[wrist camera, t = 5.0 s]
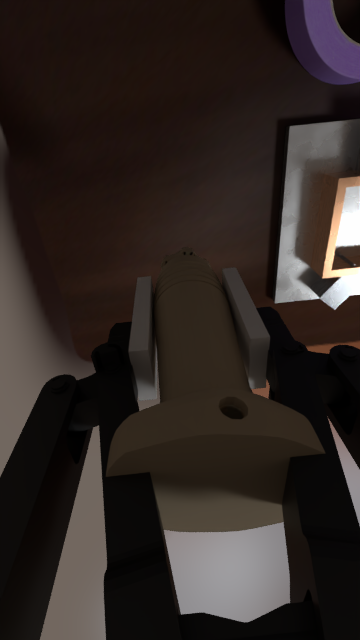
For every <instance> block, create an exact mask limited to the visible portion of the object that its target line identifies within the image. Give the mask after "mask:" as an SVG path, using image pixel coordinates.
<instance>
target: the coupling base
mask: <svg viewBox="0 0 360 640" xmlns="http://www.w3.org/2000/svg"><path fill="white" fill-rule="evenodd" d="M357 294H360V119H350V120H340V121H331V122H321V123H311V124H302V125H292V126H286V132H285V144H284V157H283V170H282V182H281V195H280V208H279V220H278V233H277V246H276V258H275V271H274V284H273V296H272V300H273V301H274V303H281V302H291V301H300V300H310V299H319V298H320V299H321V300H322V301H324V302H325V303H327V304H328V305H329V306H331V307H332V308H333V309H336V308H337V307H338V306H339V305H340V304H341V303H342V302H343V301H344V300H345V299H347V298H348V297H349V296H350V295H357Z"/></svg>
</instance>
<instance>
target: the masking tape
mask: <svg viewBox="0 0 360 640" xmlns="http://www.w3.org/2000/svg"><path fill="white" fill-rule="evenodd" d="M285 20H286V28H287V33H288V38H289V41H290V44H291V47H292V49H293V52H294V54H295V55H296V57H297V59H298V61H299V62H300V64H301V65H302V66H303V67H304V68H305V69H306V70H307V71H308V72H309V73H310V74H311V75H312V76H314V77H315V78H317V79H319V80H321V81H324V82H326V83H330V84H337V85H341V84H352V83H357V82H360V44H359V43H357V42H355V41H353V40H352V39H351V38H349V37H348V36H347V35H346V34H345V33H344V32H343V30H342V29H341V27H340V25H339V24H338V21H337V19H336V16H335V12H334V9H333V3H332V0H285Z"/></svg>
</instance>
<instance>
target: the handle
mask: <svg viewBox="0 0 360 640" xmlns="http://www.w3.org/2000/svg"><path fill="white" fill-rule="evenodd" d="M161 268H162V270H161V272H160V274H159V277H158V279H157V283H156V288H155V294H154V306H153V317H154V328H155V339H156V349H157V359H158V372H159V388H160V404H157V405H154V406H152V407H149V408H146V409H144V410H141V411H139V412H136V413H134V414H132V415H130V416H129V417H128V418H127V419H126V420H124V421H123V422H122V424H121V425H120V426H119V427H118V429H117V430H116V432H115V434H114V437H113V439H112V442H111V446H110V451H109V457H108V464H107V471H106V477H109V476H118V475H127V474H136V473H145V472H150V475H151V479H152V483H153V487H154V491H155V495H156V499H157V504H158V508H159V512H160V516H161V520H162V525H163V530H170V531H178V532H228V531H240V530H247V529H253V528H258V527H262V526H267V525H272V524H276V523H281V522H284V520H283V512H282V500H283V495H284V489H285V483H286V478H287V472H288V466H289V461H290V457H296V456H306V455H316V454H326V453H325V451H324V449H323V447H322V445H321V443H320V441H319V439H318V437H317V435H316V433H315V431H314V429H313V427H312V425H311V424H310V422H309V421H308V419H307V418H306V417H305V416H304V415H302V414H300V413H298V412H296V411H295V410H293V409H291V408H289V407H287V406H284V405H282V404H280V403H278V402H275V401H273V400H270V399H267V398H265V397H263V396H260V395H257V394H253V392H252V390H251V388H250V384H249V381H248V377H247V373H246V370H245V366H244V362H243V359H242V355H241V351H240V348H239V344H238V340H237V336H236V331H235V327H234V323H233V319H232V315H231V310H230V306H229V303H228V300H227V297H226V294H225V292H224V290H223V287H222V285H221V283H220V281H219V279H218V278H217V276H216V274H215V273H214V271H213V270H212V268H211V266H210V264H209V263H208V261H207V260H206V259H202V258H200V257H199V256H197V255H196V254H195V253H194V251H193V249H191V248H188V247H184V248H182V249H181V250H180V251H179V252H178V253H176V254H174V255H170V256H168V255H167V256H165V258H164V259H163V261H162V263H161Z"/></svg>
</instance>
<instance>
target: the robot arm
mask: <svg viewBox="0 0 360 640" xmlns="http://www.w3.org/2000/svg"><path fill="white" fill-rule="evenodd" d="M222 287H223V290H224V292H225V294H226V297H227V300H228V303H229V306H230V310H231V315H232V319H233V323H234V327H235V331H236V336H237V340H238V344H239V348H240V351H241V355H242V359H243V362H244V366H245V370H246V373H247V377H248V381H249V384H250V388H251V389H256V388H265V387H266V380H268V383H269V385H270V390H269V399H270V400H273V401H275V402H278V403H280V404H282V405H284V406H287V407H289V408H291V409H293V410H295V411H296V412H298V413H300V414H302V415H304V416H305V417H306V418H307V419H308V421H309V422H310V424H311V425H312V427H313V429H314V431H315V433H316V435H317V437H318V439H319V441H320V443H321V445H322V447H323V449H324V451H325V453H326V454H316V455H306V456H296V457H290V461H289V466H288V472H287V478H286V483H285V489H284V495H283V500H282V512H283V520H284V528H285V537H286V546H287V555H288V563H289V571H290V572H289V573H290V603H288V604H285V605H283V606H281V607H279V608H277V609H275V610H273V611H271V612H269V613H267V614H265V615H263V616H261V617H259V618H257V619H255V620H253V621H250V622H245V623H244V622H239V621H235V620H231V619H227V618H223V617H219V616H215V615H211V614H206V613H192V614H183V615H181V613H180V608H179V604H178V599H177V595H176V590H175V585H174V580H173V575H172V570H171V565H170V560H169V555H168V551H167V546H166V540H165V535H164V530H163V525H162V520H161V516H160V512H159V508H158V504H157V499H156V495H155V491H154V487H153V483H152V479H151V475H150V472H145V473H136V474H127V475H118V476H109V477H106V471H107V464H108V457H109V451H110V446H111V442H112V439H113V437H114V434H115V432H116V430H117V429H118V427H119V426H120V425H121V424H122V422H123V421H124V420H126V419H127V418H128V417H129V416H130V415H132V414H134V413H136V412H139V406H138V402H137V398H138V396H139V400H140V401H141V400H151V399H157V349H156V339H155V328H154V317H153V306H154V292H153V286H152V279H151V276H149V277H139V278H137V286H136V294H135V302H134V310H133V318H132V322H124V323H116V324H115V325H114V326H113V327H112V329H111V330H110V334H109V339H108V343H104V344H101V345H100V346H98V347H96V348H95V349H94V350H93V352H92V355H91V358H92V361H93V364H94V367H95V370H96V373H94V374H93V375H91V376H89V377H86V378H83V379H80V380H76V379H75V377H74V376H71V375H65V374H64V375H59V376H56V377H54V378H52V379H51V380H49V381H48V382H46V384H45V385H44V387H43V388H42V390H41V392H40V394H39V396H38V398H37V400H36V403H35V405H34V407H33V409H32V411H31V413H30V415H29V417H28V419H27V422H26V424H25V426H24V428H23V430H22V432H21V434H20V437H19V439H18V441H17V443H16V445H15V447H14V449H13V451H12V454H11V456H10V458H9V460H8V462H7V464H6V466H5V468H4V471H3V473H2V475H1V477H0V640H40V636H41V632H42V628H43V624H44V620H45V616H46V612H47V609H48V605H49V601H50V596H51V592H52V589H53V585H54V580H55V577H56V572H57V569H58V565H59V561H60V557H61V553H62V549H63V545H64V541H65V537H66V533H67V529H68V525H69V521H70V517H71V513H72V509H73V505H74V501H75V497H76V493H77V489H78V485H79V481H80V477H81V473H82V470H83V466H84V461H85V458H86V454H87V450H88V445H89V442H90V438H91V433H92V430H93V427H95V426H98V425H99V431H100V447H101V464H102V480H103V481H102V482H103V498H104V515H105V532H106V548H107V570H106V572H105V575H104V604H105V626H106V640H360V526H359V523H358V519H357V516H356V512H355V509H354V506H353V502H352V499H351V495H350V492H349V489H348V485H347V482H346V478H345V475H344V472H343V469H342V465H341V462H340V458H339V455H338V451H337V448H336V444H335V441H334V438H333V434H332V431H331V428H330V424H329V421H328V418H329V419H330V421H331V423H332V425H333V426H334V428H335V430H336V431H337V433H338V435H339V436H340V438H341V439H342V441H343V443H344V444H345V446H346V448H347V449H348V451H349V453H350V454H351V456H352V458H353V459H354V461H355V462H356V464H357V466H358V467H359V469H360V349H358V348H355V347H353V346H349V345H337V346H334V347H333V348H331V349H330V353H329V354H325V353H316V352H311V351H308V350H307V348H306V346H305V345H303V344H302V343H300V342H298V341H295V340H294V339H293V337H292V335H291V334H290V332H289V330H288V329H287V327H286V325H285V324H284V322H283V320H282V319H281V317H280V315H279V313H278V312H277V311H276V310H274V309H273V308H271V307H261V308H256V307H255V305H254V303H253V301H252V299H251V297H250V295H249V293H248V291H247V289H246V287H245V285H244V283H243V281H242V279H241V277H240V275H239V273H238V271H237V269H236V268H226V269H222ZM327 416H328V417H327Z"/></svg>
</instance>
